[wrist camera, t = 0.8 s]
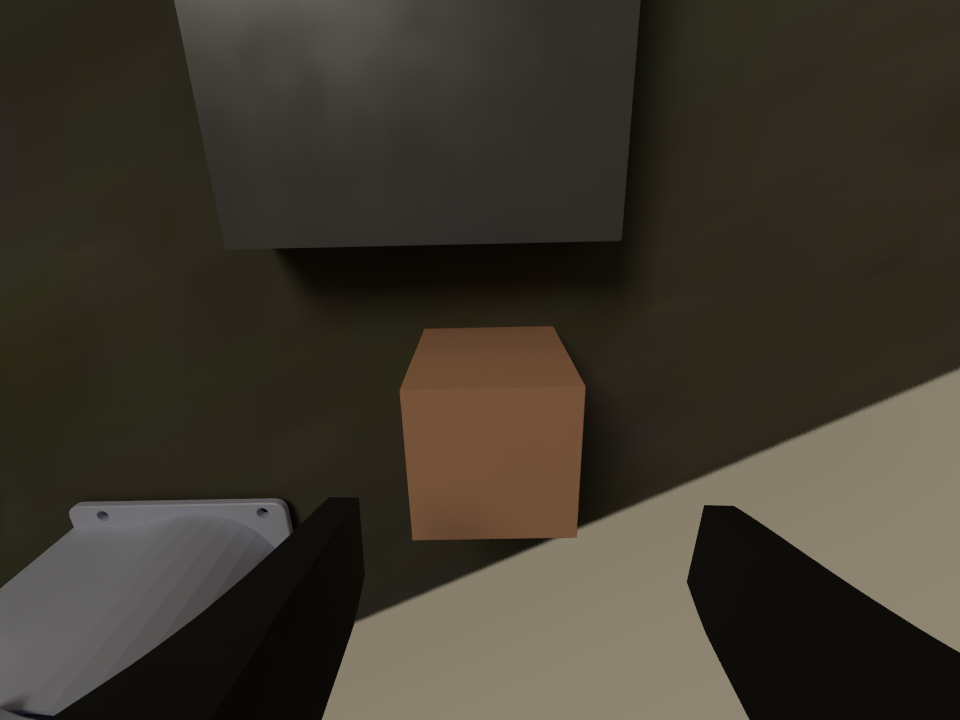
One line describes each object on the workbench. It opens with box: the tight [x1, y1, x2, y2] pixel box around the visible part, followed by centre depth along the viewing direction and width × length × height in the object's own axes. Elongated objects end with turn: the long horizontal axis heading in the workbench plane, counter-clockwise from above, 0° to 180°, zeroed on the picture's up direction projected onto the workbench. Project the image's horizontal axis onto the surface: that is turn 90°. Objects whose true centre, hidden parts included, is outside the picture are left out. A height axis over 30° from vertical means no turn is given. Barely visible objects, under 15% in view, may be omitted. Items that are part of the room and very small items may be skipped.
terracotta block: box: [400, 326, 586, 540], centre depth 16 cm, size 5×5×6 cm
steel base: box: [174, 0, 641, 250], centre depth 13 cm, size 12×12×3 cm
